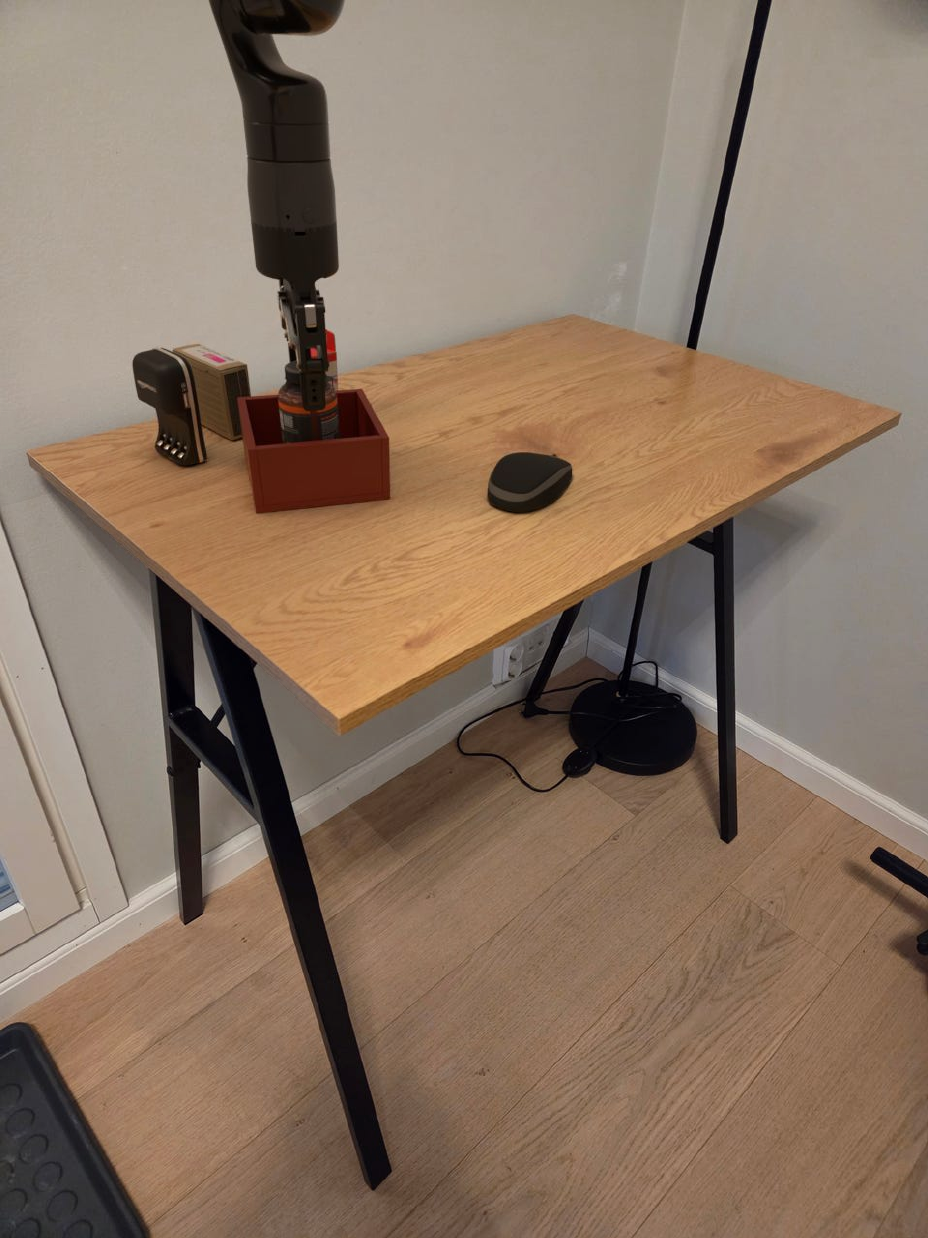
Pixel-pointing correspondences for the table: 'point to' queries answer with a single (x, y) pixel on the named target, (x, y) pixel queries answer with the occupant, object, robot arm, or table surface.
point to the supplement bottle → (306, 423)
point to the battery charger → (171, 404)
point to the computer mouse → (528, 481)
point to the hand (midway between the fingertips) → (307, 393)
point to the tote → (315, 457)
